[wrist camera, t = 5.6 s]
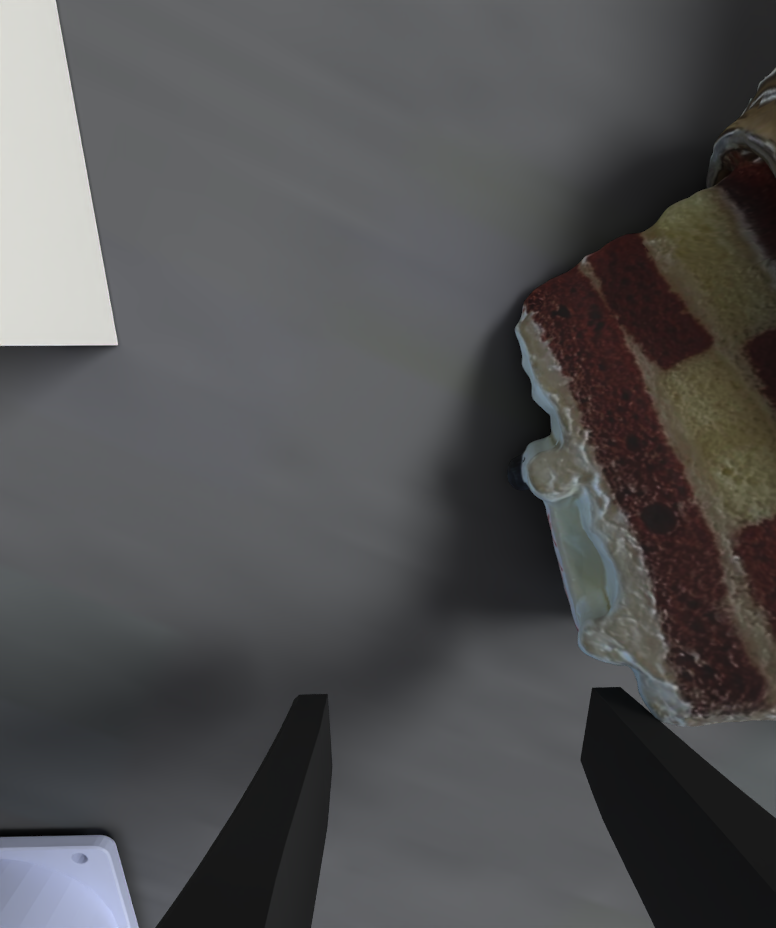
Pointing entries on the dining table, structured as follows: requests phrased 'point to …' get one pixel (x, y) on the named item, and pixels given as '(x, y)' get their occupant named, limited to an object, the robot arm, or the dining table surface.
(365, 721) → the dining table surface
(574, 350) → the chocolate cake
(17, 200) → the socket bay
